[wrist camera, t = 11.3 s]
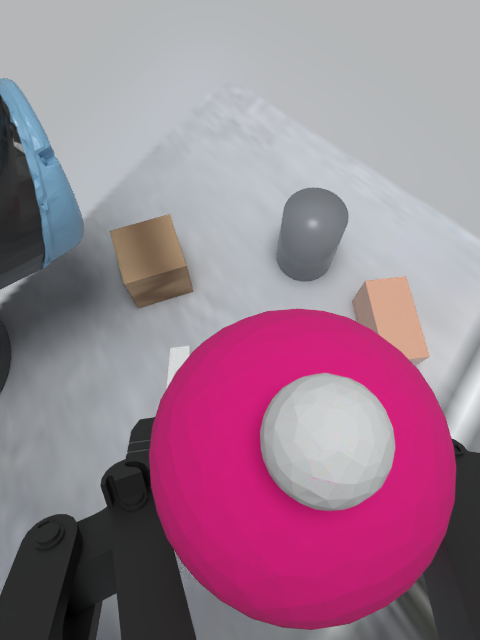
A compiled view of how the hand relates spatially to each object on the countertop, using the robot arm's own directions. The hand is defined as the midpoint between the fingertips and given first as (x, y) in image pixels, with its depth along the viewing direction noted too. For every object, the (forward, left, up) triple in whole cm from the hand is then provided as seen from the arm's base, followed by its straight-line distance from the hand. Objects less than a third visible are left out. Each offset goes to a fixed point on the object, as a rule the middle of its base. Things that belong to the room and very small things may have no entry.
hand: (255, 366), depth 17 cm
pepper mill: (0, -4, -8) cm, 9 cm away
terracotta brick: (+15, +7, -24) cm, 30 cm away
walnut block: (-7, +17, -24) cm, 31 cm away
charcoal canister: (+9, +17, -24) cm, 31 cm away
